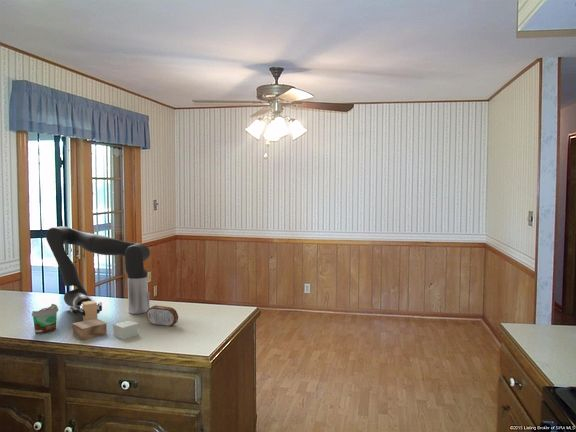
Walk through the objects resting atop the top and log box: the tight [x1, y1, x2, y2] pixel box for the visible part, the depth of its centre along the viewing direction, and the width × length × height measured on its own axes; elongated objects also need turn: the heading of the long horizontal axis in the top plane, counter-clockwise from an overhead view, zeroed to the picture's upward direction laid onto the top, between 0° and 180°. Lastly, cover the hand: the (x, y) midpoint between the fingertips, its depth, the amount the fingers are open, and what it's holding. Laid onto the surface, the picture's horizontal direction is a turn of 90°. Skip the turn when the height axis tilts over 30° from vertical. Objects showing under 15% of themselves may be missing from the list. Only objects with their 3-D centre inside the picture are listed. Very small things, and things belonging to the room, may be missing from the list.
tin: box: [146, 304, 179, 327], centre depth 202 cm, size 15×3×8 cm, turn 71°
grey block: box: [113, 320, 139, 340], centre depth 189 cm, size 7×7×5 cm
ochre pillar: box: [82, 300, 98, 321], centre depth 202 cm, size 5×5×10 cm
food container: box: [31, 303, 59, 335], centre depth 194 cm, size 12×6×10 cm, turn 168°
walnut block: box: [72, 317, 108, 341], centre depth 190 cm, size 10×10×5 cm
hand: (91, 312), depth 200 cm, fingers closed on ochre pillar, 5 cm apart
